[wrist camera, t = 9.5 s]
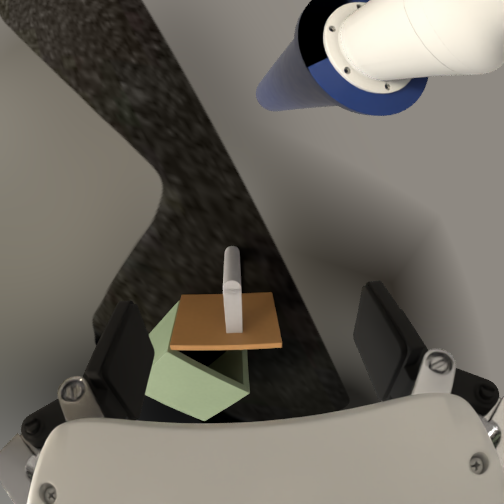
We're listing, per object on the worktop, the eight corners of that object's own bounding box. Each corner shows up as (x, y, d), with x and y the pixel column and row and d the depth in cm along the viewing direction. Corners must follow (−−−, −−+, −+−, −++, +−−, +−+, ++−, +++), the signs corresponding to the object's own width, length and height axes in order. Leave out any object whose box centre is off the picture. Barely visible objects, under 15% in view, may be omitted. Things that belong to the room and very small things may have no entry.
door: (178, 237, 37) (157, 292, 26) (270, 234, 38) (286, 289, 26) (185, 286, 40) (170, 350, 29) (269, 284, 41) (281, 347, 30)
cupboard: (182, 286, 41) (167, 351, 29) (245, 327, 45) (249, 393, 33) (149, 324, 44) (130, 387, 32) (208, 358, 48) (204, 421, 36)
